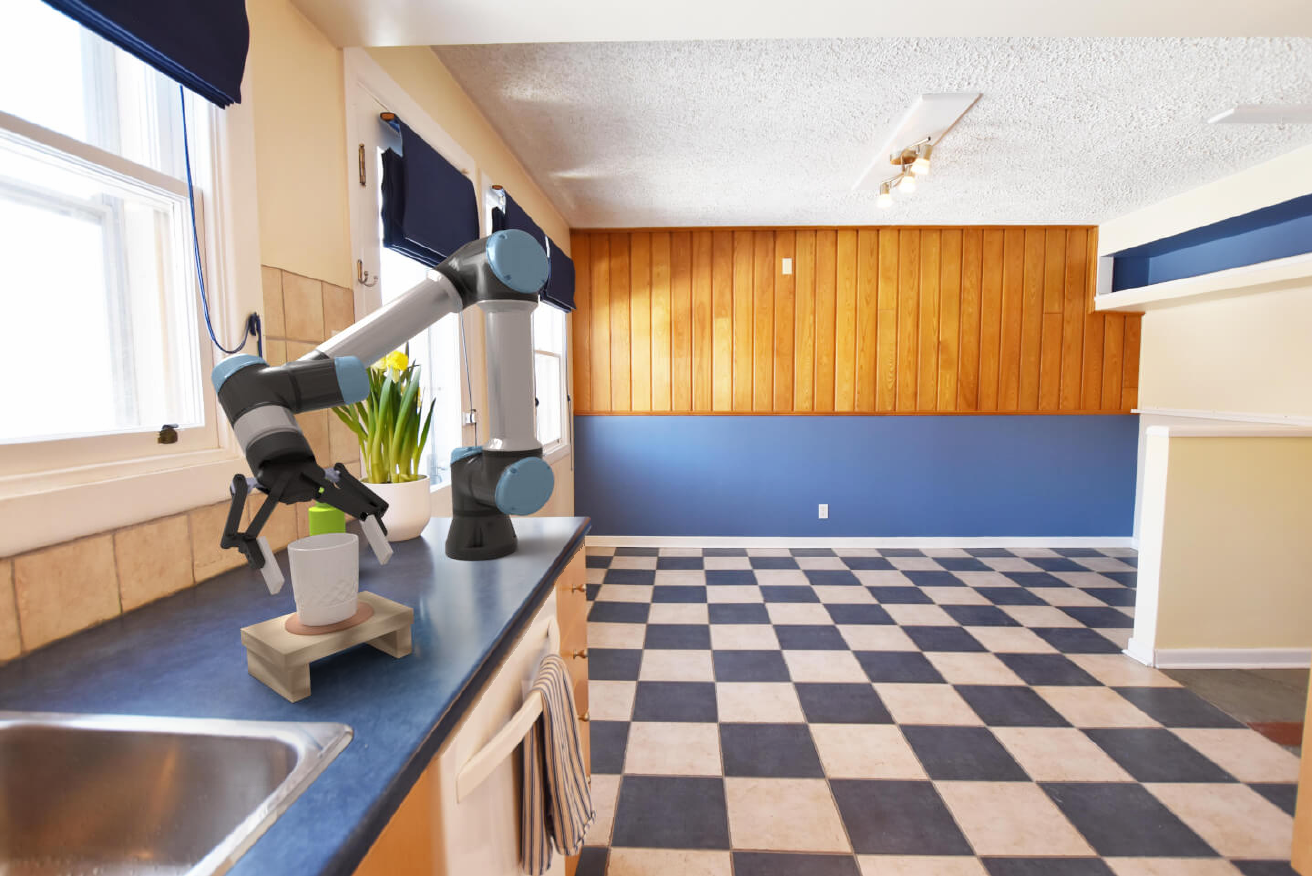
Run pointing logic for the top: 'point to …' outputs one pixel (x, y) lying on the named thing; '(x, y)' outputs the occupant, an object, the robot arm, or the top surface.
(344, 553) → the white cup
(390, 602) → the birch shelf
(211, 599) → the top surface
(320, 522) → the soap dispenser
